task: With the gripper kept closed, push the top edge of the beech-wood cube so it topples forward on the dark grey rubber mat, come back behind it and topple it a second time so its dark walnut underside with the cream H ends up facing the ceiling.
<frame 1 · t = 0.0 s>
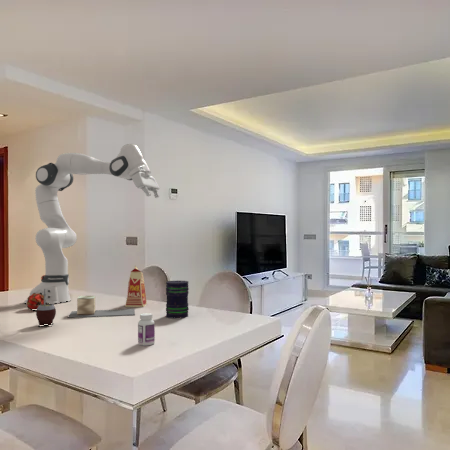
hand: (153, 196, 209), 54 cm above the table, tool tilted 30°, fingers open, 8 cm apart
navy striped can: (177, 316, 184), on the table
mate gourd: (46, 326, 164), on the table
pill bottle: (146, 344, 138), on the table
mat: (102, 313, 189), on the table
block: (86, 313, 188), resting on mat
milk carton: (136, 305, 211), on the table
dragon fruit: (36, 310, 199), on the table
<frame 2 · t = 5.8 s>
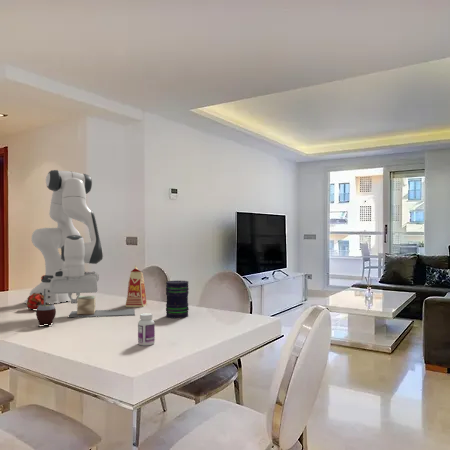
hand: (74, 303, 187), 5 cm above the table, tool pointing down, fingers closed
block: (86, 313, 188), resting on mat, touching gripper
everything else where it was.
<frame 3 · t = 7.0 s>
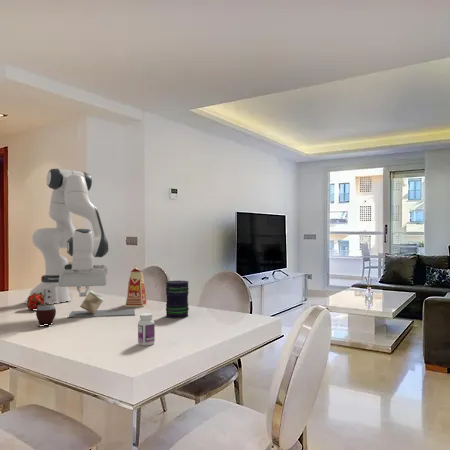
hand: (83, 296, 188), 8 cm above the table, tool pointing down, fingers closed
block: (87, 309, 188), point 2 cm above the table, tilted 32°, touching gripper, mat
everything else where it was.
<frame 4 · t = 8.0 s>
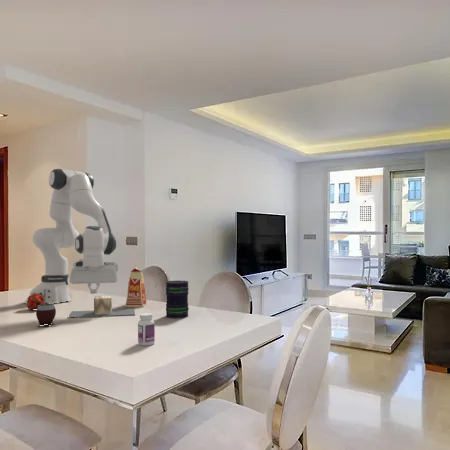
hand: (93, 293, 189), 9 cm above the table, tool pointing down, fingers closed
block: (94, 305, 189), point 4 cm above the table, tilted 90°, touching mat
everything else where it was.
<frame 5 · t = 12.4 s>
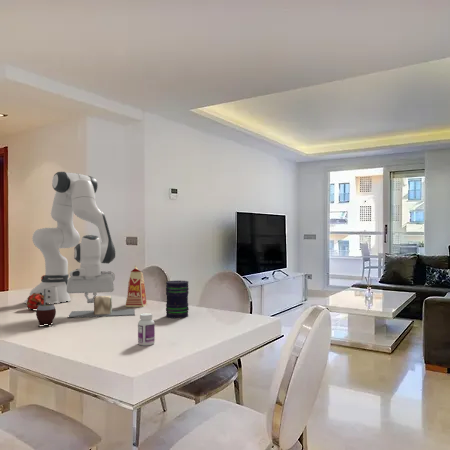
hand: (90, 302, 188), 5 cm above the table, tool pointing down, fingers closed
block: (94, 305, 189), point 4 cm above the table, tilted 90°, touching gripper, mat
everything else where it was.
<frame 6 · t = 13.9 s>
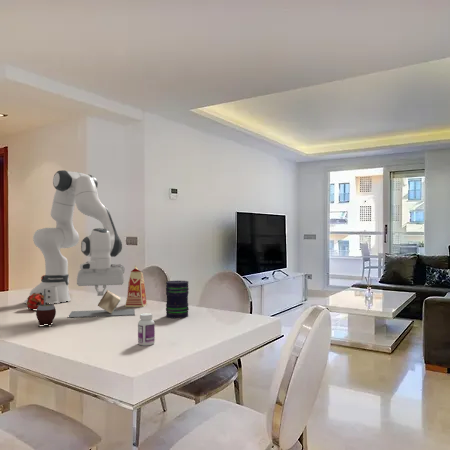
hand: (100, 295, 189), 8 cm above the table, tool pointing down, fingers closed
block: (102, 297, 189), point 7 cm above the table, tilted 122°, touching gripper, mat
everything else where it was.
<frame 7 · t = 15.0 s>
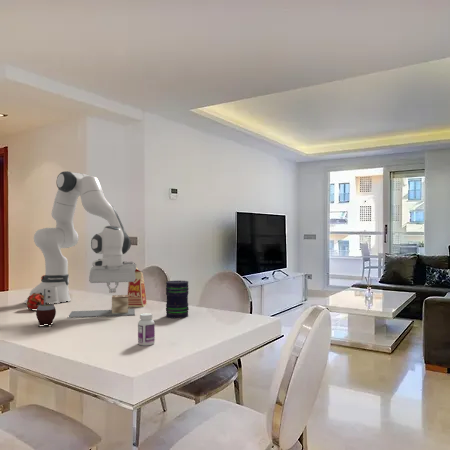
hand: (112, 292, 190), 9 cm above the table, tool pointing down, fingers closed
block: (120, 295, 191), point 8 cm above the table, tilted 180°, touching mat
everything else where it was.
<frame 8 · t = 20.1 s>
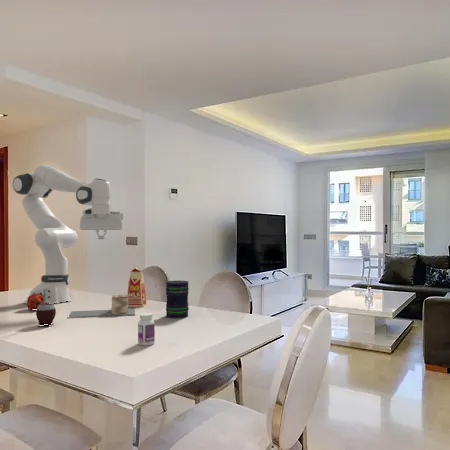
hand: (101, 239, 208), 33 cm above the table, tool pointing down, fingers closed
nothing on the table moved.
at the end: block tilted 180°; block inside the target area (0.9 cm from its centre), point 7.7 cm above the table; the gripper is holding nothing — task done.
